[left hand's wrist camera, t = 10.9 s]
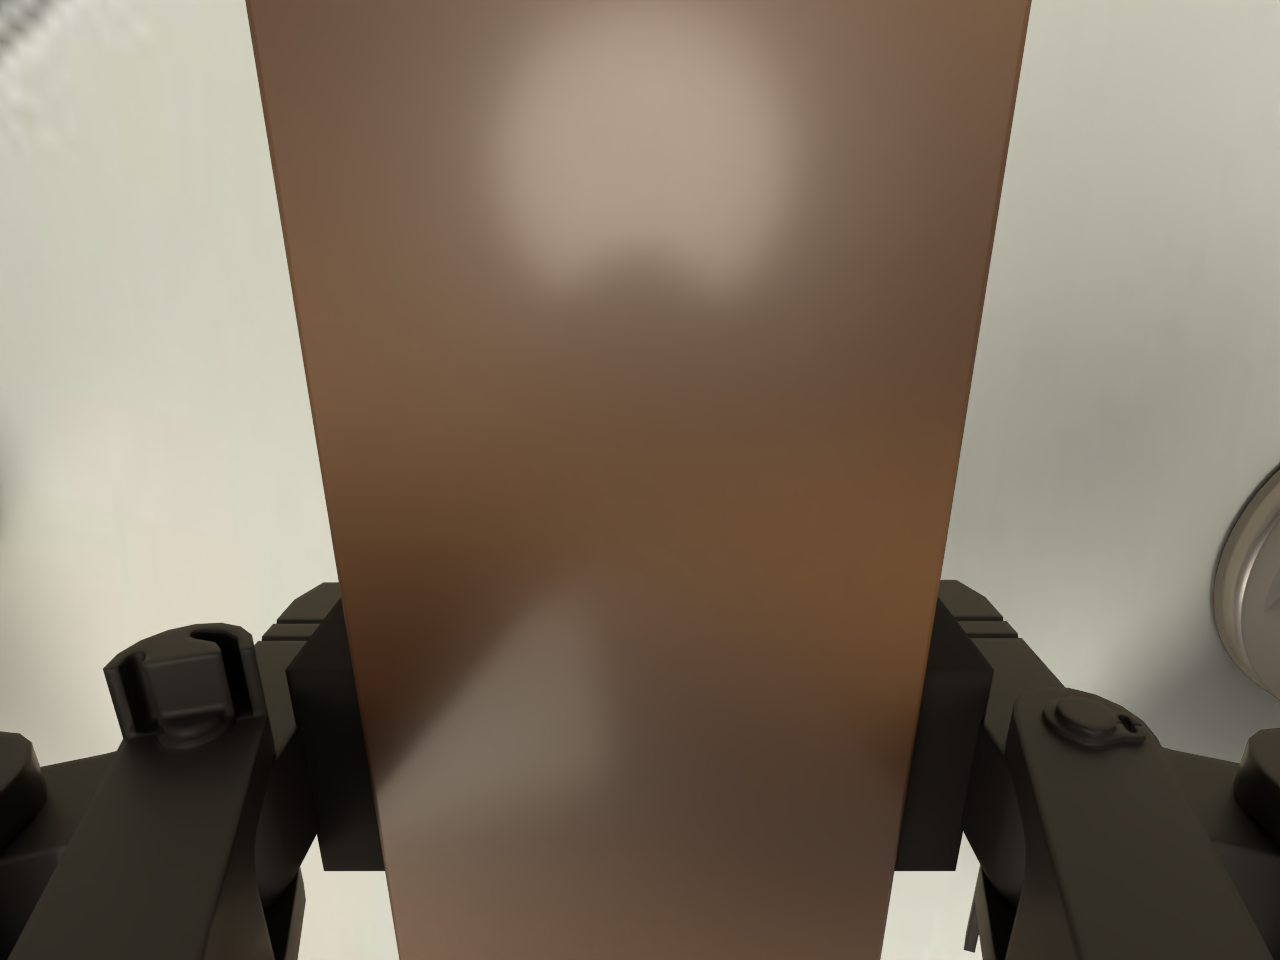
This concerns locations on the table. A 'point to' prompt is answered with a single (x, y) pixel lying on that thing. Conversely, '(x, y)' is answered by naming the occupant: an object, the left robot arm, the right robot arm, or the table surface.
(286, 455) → the table surface
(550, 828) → the bar
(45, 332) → the table surface
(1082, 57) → the table surface
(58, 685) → the table surface
